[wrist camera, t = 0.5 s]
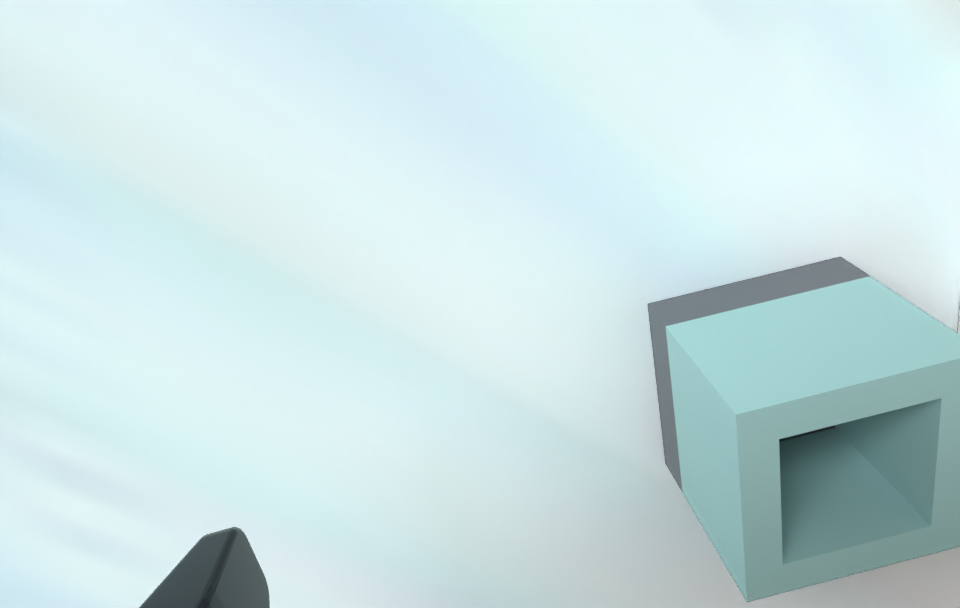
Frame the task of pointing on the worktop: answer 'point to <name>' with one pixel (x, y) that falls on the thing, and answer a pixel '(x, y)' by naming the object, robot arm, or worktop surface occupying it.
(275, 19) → the worktop surface
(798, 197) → the worktop surface
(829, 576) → the sleeve
